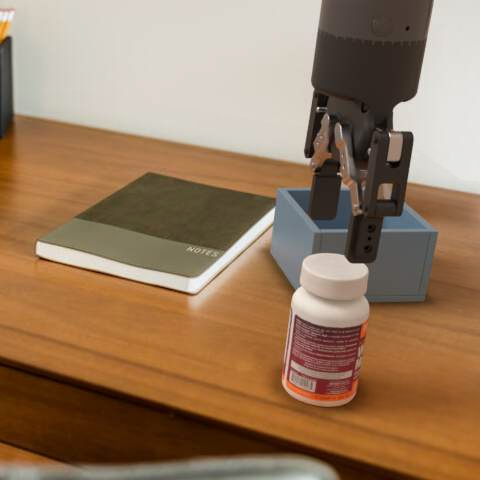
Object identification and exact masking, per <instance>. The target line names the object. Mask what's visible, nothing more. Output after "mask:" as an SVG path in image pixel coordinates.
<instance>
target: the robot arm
mask: <svg viewBox="0 0 480 480" xmlns="http://www.w3.org/2000/svg"><path fill="white" fill-rule="evenodd" d="M434 2H435V0H321V2H320V3H321V4H320V10H319V18H318V24H317V32H316V39H315V40H316V41H315V48H314V53H313V62H312V70H311V77H310V84H311V86H312V88H313V92H312V98H311V105H310V111H309V117H308V125H307V130H306V137H305V142H304V148H303V153H304V158H305V159H310V160H309V161H310V162H309V170H310V172H311V173H314V174H312V181H311V186H310V188H311V193H310V200H309V207H308V215H309V216H310V217H311V218H312V219H313V220H333V219H334V218H335V217H336V215H337V209H338V202H339V196H340V189H341V183H342V181H343V183H344V184H345V185H346V186H348V187H349V189H350V196H351V207H352V213H351V215H350V221H349V228H348V234H347V240H346V246H345V252H344V256H345V258H346V259H347V260H348V261H349V262H350V263H353V264H366V263H373V262H374V261H375V260H376V258H377V252H378V246H379V241H380V235H381V230H382V224H383V218H384V217H400V216H401V215H402V212H403V206H404V202H405V199H406V193H407V187H408V180H409V175H410V174H409V173H410V167H411V161H412V153H413V150H414V149H413V148H414V142H415V141H414V140H415V137H414V134H413V132H412V131H410V130H409V131H407V130H394V109H395V108H396V106H398V105H399V104H401V103H406V102H409V101H411V100H413V99H414V98H415V97H416V96H417V94H418V92H419V91H418V90H419V84H420V80H421V75H422V68H423V64H424V58H425V53H426V47H427V43H428V42H427V41H428V35H429V30H430V25H431V19H432V14H433V8H434ZM360 170H367V171H360ZM337 173H342V177H341V176H340V175H337ZM390 184H391V185H392V186H391V191H392V192H391V198H390V192H389V189H390ZM363 186H365V191H364V196H363Z"/></svg>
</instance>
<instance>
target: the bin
mask: <svg viewBox="0 0 480 480" xmlns="http://www.w3.org/2000/svg"><path fill="white" fill-rule="evenodd" d="M276 191H277V192H276V199H275V206H274V216H273V222H272V223H273V224H272V230H271V231H272V232H271V241H270V249H269V253H270V254H271V256H272V257H273V259H274V261H275V262H276V263H277V265H278V267H279V268H280V269H281V271H282V272H283V274H284V275H285V277H286V279H287V280H288V281H289V283H290V284H291V286H292V287H293V288H294V290H295V291H296V290H297V289H298V288H300V287H301V284H300V275H301V270H302V263H303V261H304V259H305V258H306V257H308V256H310V255H313V254H319V253H334V254H340V255H344V252H345V246H346V240H347V234H348V228H349V221H350V215H351V213H352V207H351V196H350V189H349V188H341V189H340V196H339V202H338V209H337V215H336V217H335V218H334V219H333V220H313V219H312V218H311V217H310V216H309V215H308V207H309V200H310V193H311V187H277V190H276ZM364 191H365V188H363V196H364ZM389 192H390V198H391V192H392V189H390V188H389ZM438 235H439V230H438V229H436V228H435V227H434V226H433V225H432V224H431V223H429V222H428V221H427V220H426V219H425V218H424V217H422V216H421V215H420V214H419V213H418V212H417V211H416V210H414V209H413V208H412V207H411V206H409V205H408V203H406V202H405V201H404V206H403V212H402V215H401V216H400V217H384V218H383V224H382V230H381V235H380V241H379V246H378V252H377V258H376V260H375V261H374V262H373V263H366V264H365V265H366V266H367V268H368V271H369V275H368V281H367V290H366V293H365V294H364V296H365V298H366V299H367V301H368V303H397V302H398V303H399V302H400V303H402V302H404V303H405V302H406V303H407V302H408V303H409V302H425V300H426V295H427V291H428V287H429V281H430V276H431V271H432V266H433V261H434V258H435V257H434V256H435V251H436V246H437V242H438V241H437V240H438Z"/></svg>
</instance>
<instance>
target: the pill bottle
mask: <svg viewBox="0 0 480 480" xmlns="http://www.w3.org/2000/svg"><path fill="white" fill-rule="evenodd" d="M368 275H369V271H368V268H367V266H366V265H365V264H353V263H350V262H349V261H348V260H347V259H346V258H345V256H344V255H340V254H334V253H319V254H313V255H310V256H308V257H306V258H305V259H304V261H303V263H302V270H301V275H300V284H301V287H300V288H298V289H297V290H295V291H294V293H293V294H292V296H291V300H290V301H291V302H290V309H289V317H288V325H287V332H286V339H285V340H286V341H285V350H284V354H283V364H282V373H281V383H282V386H283V389H284V390H285V391H286V392H287V394H288V395H289V396H290V397H292V398H293V399H295V400H296V401H299V402H302V403H305V404H307V405H311V406H316V407H322V408H334V407H340V406H343V405H346V404H348V403H349V402H351V401H352V400H353V399H354V397H355V396H356V394H357V390H358V384H359V378H360V374H361V369H362V363H363V362H362V361H363V356H364V350H365V344H366V337H367V331H368V325H369V319H370V311H371V310H370V309H371V308H370V302H368V301H367V299H366V298H365V296H364V294H365V293H366V290H367V281H368Z"/></svg>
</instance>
